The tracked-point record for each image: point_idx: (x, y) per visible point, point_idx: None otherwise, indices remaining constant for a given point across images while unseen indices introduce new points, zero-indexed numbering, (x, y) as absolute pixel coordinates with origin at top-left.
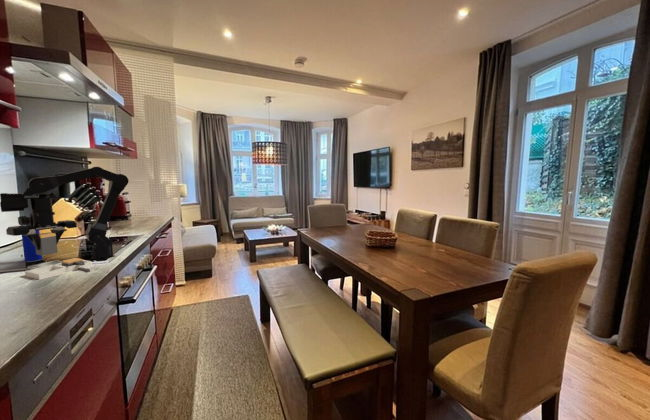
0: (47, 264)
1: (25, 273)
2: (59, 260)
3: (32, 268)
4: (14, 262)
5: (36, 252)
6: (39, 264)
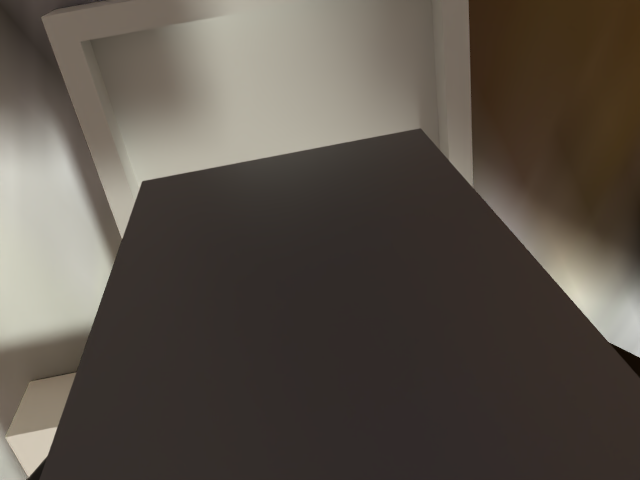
0: (307, 14)
1: (17, 419)
2: (468, 37)
3: (101, 166)
4: None
5: (141, 216)
6: (205, 17)
